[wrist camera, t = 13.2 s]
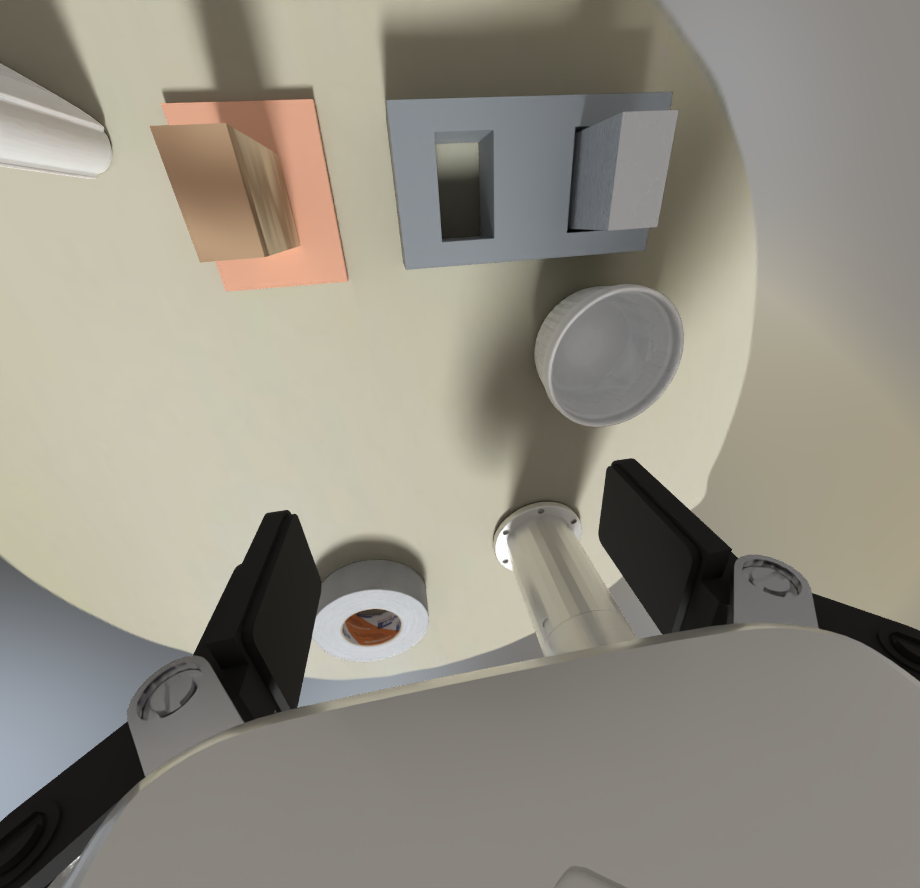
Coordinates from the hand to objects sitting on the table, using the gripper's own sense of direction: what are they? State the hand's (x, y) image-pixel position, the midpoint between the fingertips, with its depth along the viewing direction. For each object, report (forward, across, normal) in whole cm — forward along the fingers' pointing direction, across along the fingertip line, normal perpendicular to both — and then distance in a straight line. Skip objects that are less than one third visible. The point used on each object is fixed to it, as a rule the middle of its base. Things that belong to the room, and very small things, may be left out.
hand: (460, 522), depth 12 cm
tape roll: (+31, +11, +37) cm, 50 cm away
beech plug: (+28, +10, -11) cm, 31 cm away
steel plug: (+29, -15, -10) cm, 34 cm away
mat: (+29, +10, -11) cm, 32 cm away
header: (+29, -10, -10) cm, 32 cm away
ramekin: (+30, -18, +4) cm, 35 cm away
